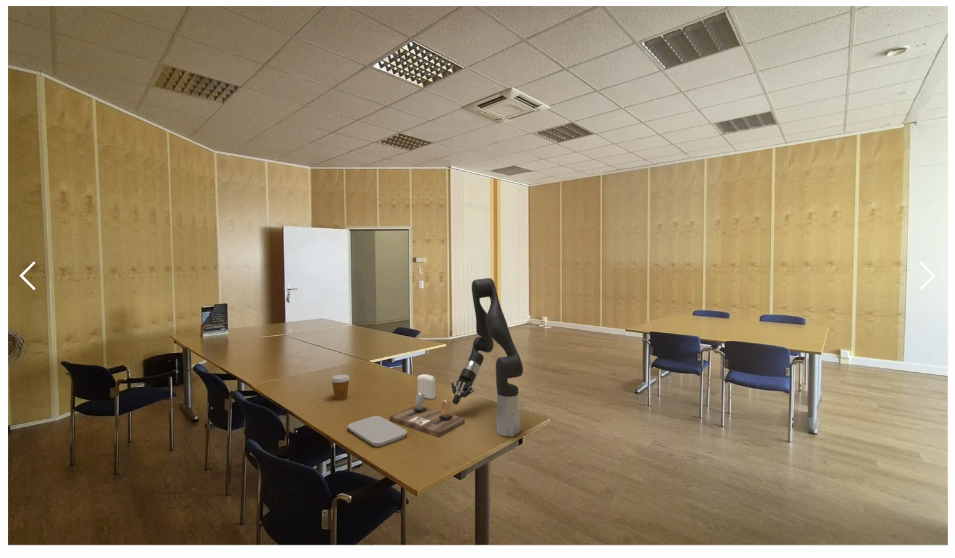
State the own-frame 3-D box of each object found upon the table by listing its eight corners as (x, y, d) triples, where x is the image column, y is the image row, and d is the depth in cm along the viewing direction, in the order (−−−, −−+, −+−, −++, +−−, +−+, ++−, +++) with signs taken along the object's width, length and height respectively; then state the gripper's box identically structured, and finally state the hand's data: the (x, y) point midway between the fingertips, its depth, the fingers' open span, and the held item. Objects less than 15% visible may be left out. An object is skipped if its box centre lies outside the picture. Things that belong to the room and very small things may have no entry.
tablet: (377, 419, 191) (377, 414, 191) (409, 437, 172) (409, 432, 172) (345, 430, 179) (344, 425, 179) (376, 450, 161) (376, 444, 161)
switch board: (464, 422, 186) (464, 417, 186) (439, 437, 172) (439, 431, 171) (416, 408, 203) (416, 404, 203) (389, 420, 189) (389, 415, 189)
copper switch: (452, 417, 187) (452, 399, 186) (446, 420, 183) (446, 402, 183) (445, 415, 189) (445, 397, 189) (439, 418, 186) (439, 400, 185)
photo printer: (416, 396, 220) (416, 374, 219) (420, 394, 224) (420, 372, 223) (432, 400, 215) (432, 377, 215) (436, 397, 219) (436, 375, 219)
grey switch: (426, 409, 196) (426, 392, 195) (420, 412, 192) (420, 395, 192) (419, 407, 198) (419, 390, 198) (413, 410, 195) (413, 393, 194)
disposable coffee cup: (353, 395, 222) (352, 374, 221) (345, 402, 212) (345, 379, 211) (336, 395, 222) (335, 373, 222) (328, 401, 213) (327, 378, 212)
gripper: (456, 365, 202) (440, 396, 193) (477, 370, 194) (462, 402, 185) (462, 373, 207) (447, 404, 197) (483, 378, 199) (469, 410, 190)
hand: (454, 403), depth 191 cm, fingers closed
